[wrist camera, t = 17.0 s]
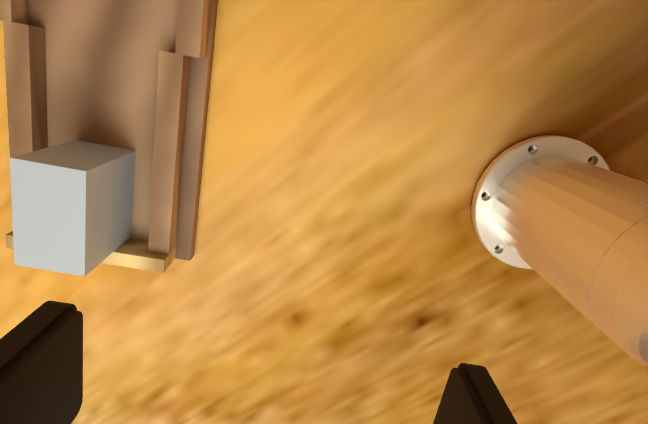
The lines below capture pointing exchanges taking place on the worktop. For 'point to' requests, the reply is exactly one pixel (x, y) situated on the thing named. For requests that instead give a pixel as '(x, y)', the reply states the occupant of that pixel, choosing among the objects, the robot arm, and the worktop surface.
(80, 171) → the panel block
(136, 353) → the worktop surface
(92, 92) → the board
